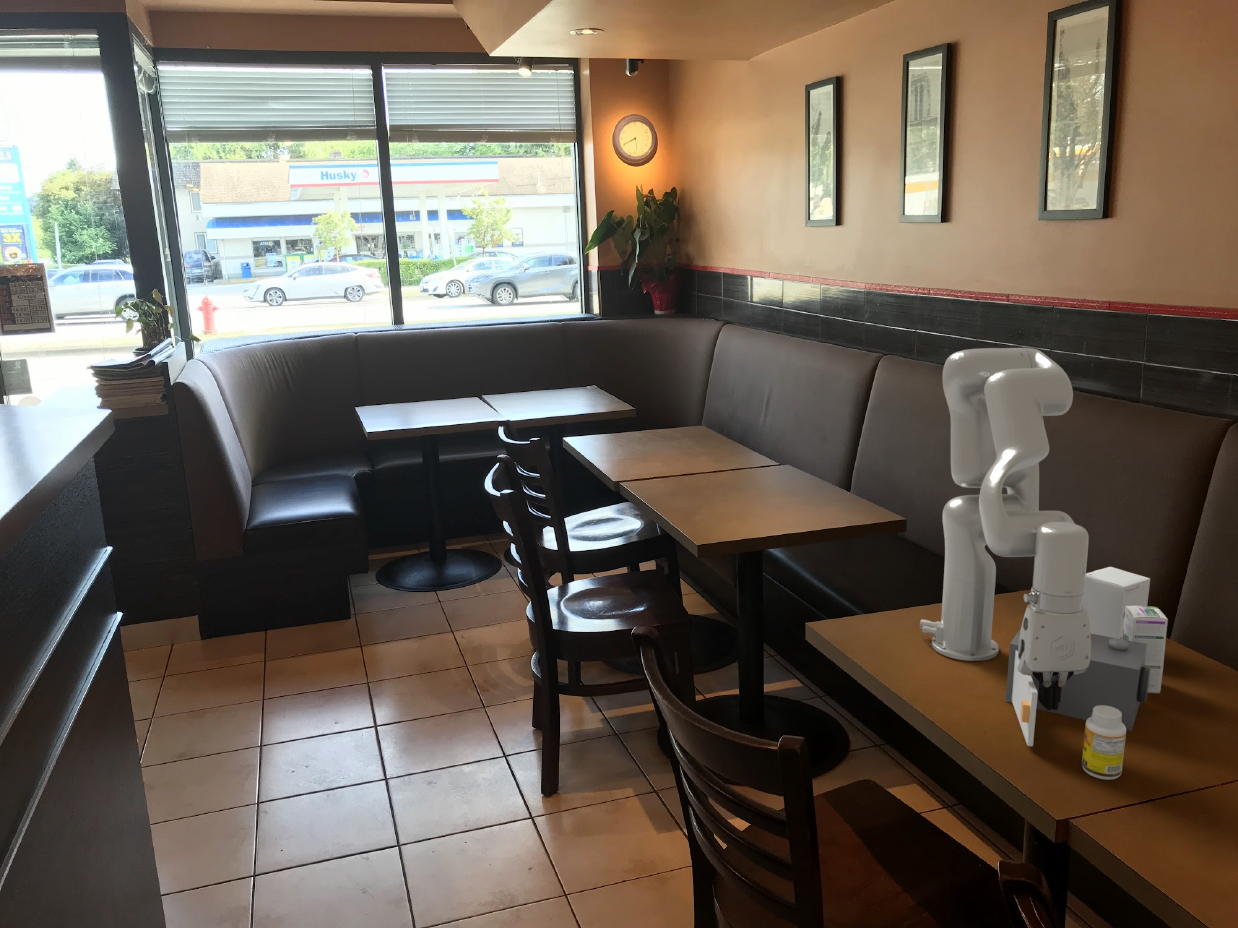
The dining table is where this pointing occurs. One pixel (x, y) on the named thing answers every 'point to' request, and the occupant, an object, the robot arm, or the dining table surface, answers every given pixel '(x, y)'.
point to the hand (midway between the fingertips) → (1048, 706)
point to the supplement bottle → (1104, 743)
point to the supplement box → (1112, 599)
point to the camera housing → (1100, 680)
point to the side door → (1024, 701)
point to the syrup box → (1148, 638)
